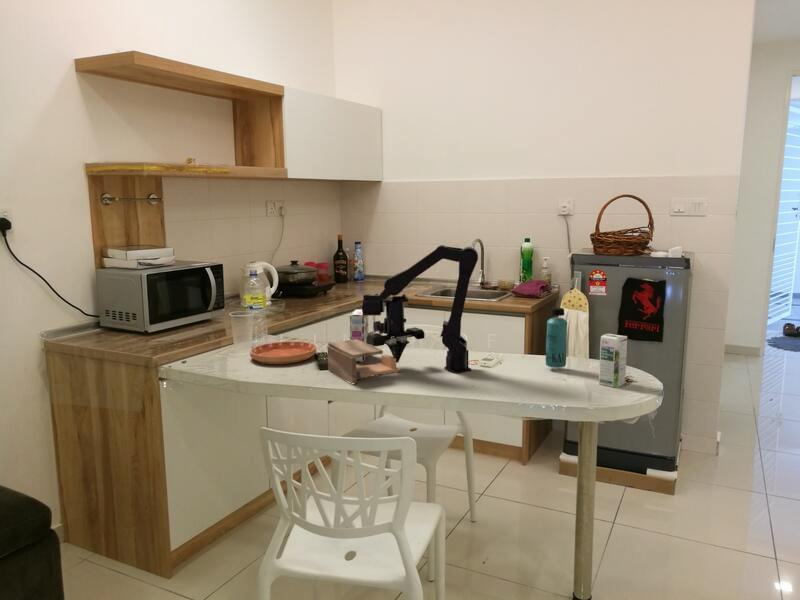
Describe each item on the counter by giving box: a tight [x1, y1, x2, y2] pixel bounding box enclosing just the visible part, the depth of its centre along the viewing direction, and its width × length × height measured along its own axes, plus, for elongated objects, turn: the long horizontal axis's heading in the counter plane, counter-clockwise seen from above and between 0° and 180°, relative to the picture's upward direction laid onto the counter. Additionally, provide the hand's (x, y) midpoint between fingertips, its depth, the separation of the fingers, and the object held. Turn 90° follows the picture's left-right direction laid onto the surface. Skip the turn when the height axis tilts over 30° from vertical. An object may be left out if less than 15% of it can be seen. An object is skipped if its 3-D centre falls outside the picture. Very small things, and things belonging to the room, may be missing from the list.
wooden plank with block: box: [356, 354, 399, 378], centre depth 200 cm, size 14×9×4 cm, turn 120°
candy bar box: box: [349, 309, 369, 363], centre depth 215 cm, size 11×5×16 cm, turn 174°
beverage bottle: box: [544, 307, 568, 369], centre depth 197 cm, size 6×7×20 cm
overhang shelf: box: [326, 339, 384, 384], centre depth 196 cm, size 10×18×9 cm, turn 30°
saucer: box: [249, 340, 317, 365], centre depth 219 cm, size 23×23×4 cm
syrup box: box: [598, 333, 628, 389], centre depth 182 cm, size 6×6×14 cm
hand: (396, 362), depth 203 cm, fingers closed
